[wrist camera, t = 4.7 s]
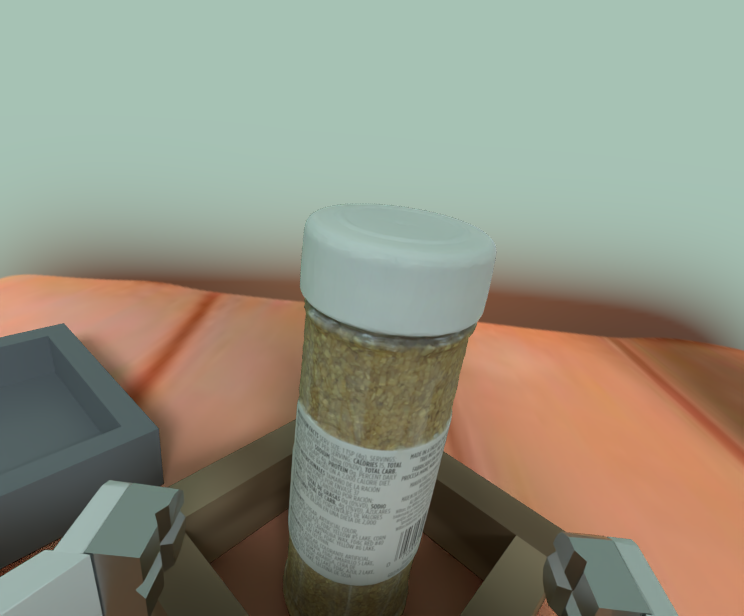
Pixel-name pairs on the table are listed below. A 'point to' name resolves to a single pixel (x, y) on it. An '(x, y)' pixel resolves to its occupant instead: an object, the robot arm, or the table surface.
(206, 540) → the socket block
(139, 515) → the robot arm
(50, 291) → the table surface
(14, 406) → the tray
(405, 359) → the sprinkles bottle
